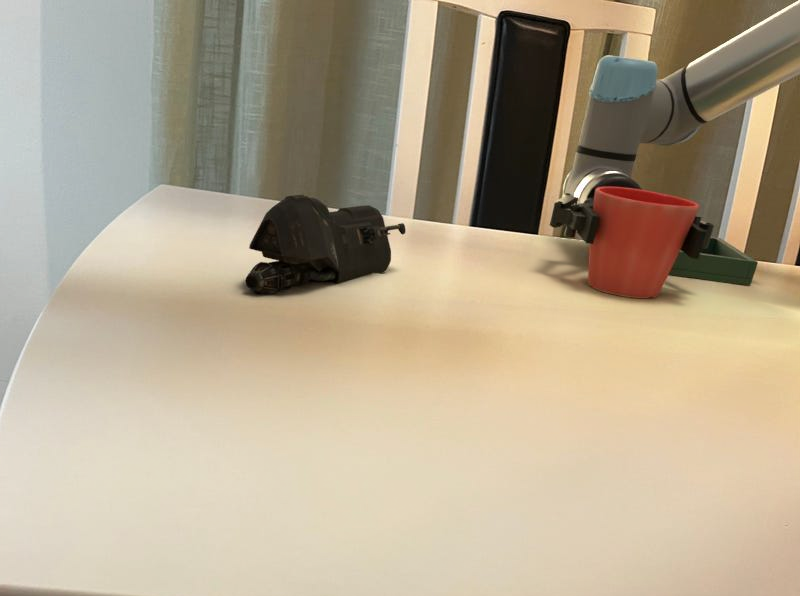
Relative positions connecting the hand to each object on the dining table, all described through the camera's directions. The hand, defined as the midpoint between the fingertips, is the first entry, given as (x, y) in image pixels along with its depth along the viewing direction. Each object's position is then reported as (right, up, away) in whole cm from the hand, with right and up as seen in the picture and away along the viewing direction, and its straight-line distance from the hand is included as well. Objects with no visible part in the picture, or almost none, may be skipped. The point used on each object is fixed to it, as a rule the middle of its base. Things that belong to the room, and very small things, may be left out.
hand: (645, 237), depth 104 cm
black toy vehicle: (-34, -7, -7) cm, 36 cm away
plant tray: (+11, +7, +25) cm, 29 cm away
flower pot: (0, -3, +7) cm, 7 cm away
